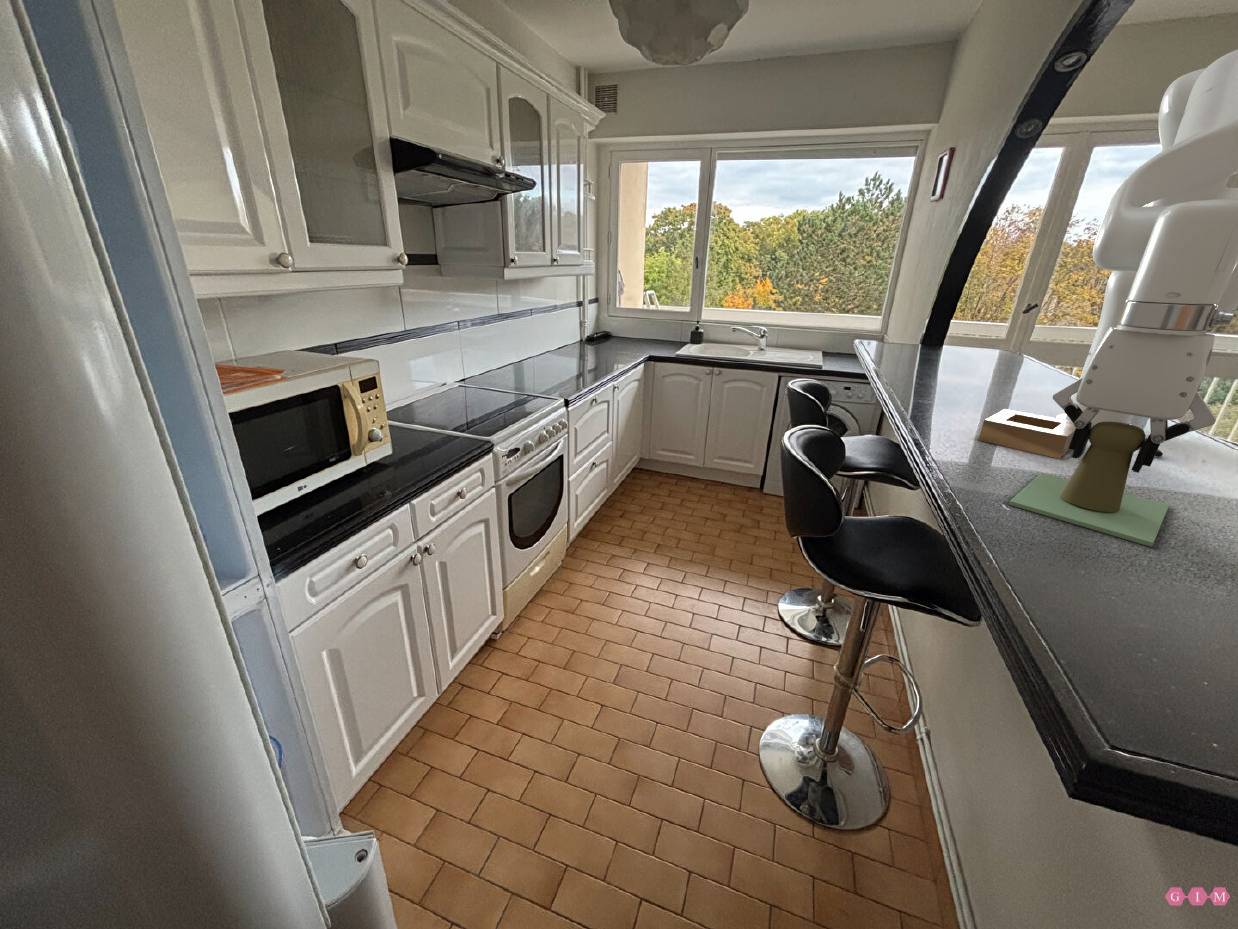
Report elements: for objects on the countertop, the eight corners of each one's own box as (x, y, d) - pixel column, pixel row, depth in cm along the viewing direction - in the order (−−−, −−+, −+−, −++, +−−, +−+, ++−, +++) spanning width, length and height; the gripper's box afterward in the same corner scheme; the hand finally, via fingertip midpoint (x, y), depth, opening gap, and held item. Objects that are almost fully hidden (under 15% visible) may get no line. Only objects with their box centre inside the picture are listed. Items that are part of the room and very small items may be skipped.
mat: (1040, 476, 78) (1041, 472, 78) (1167, 508, 68) (1169, 504, 68) (1008, 504, 68) (1009, 500, 68) (1151, 547, 59) (1153, 542, 58)
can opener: (1161, 458, 86) (1164, 452, 85) (1143, 455, 87) (1145, 449, 86) (1146, 444, 93) (1149, 438, 92) (1129, 441, 94) (1132, 435, 94)
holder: (998, 428, 101) (1004, 408, 99) (1075, 444, 92) (1083, 423, 91) (978, 440, 94) (984, 419, 92) (1059, 458, 85) (1067, 436, 84)
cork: (1131, 514, 64) (1168, 432, 61) (1078, 508, 65) (1111, 427, 62) (1099, 496, 70) (1131, 419, 66) (1050, 491, 71) (1079, 415, 67)
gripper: (1277, 324, 55) (1203, 476, 62) (1077, 311, 67) (1033, 439, 74) (1278, 329, 51) (1198, 492, 58) (1063, 314, 63) (1018, 450, 70)
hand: (1106, 461), depth 66 cm, fingers closed on cork, 5 cm apart
